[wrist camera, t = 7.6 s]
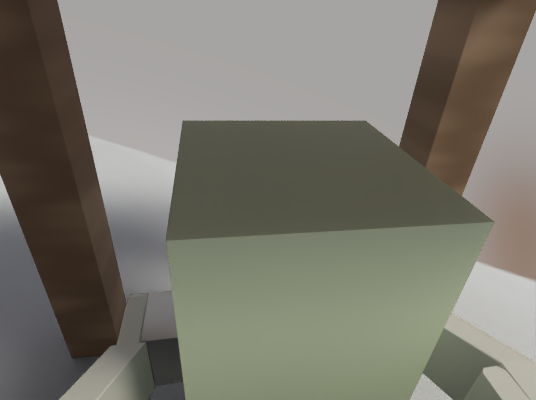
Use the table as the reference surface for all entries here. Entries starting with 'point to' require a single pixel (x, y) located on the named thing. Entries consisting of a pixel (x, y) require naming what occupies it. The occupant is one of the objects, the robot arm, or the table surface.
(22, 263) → the table surface
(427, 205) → the sage block
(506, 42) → the shelf stand
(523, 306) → the table surface
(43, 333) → the table surface
